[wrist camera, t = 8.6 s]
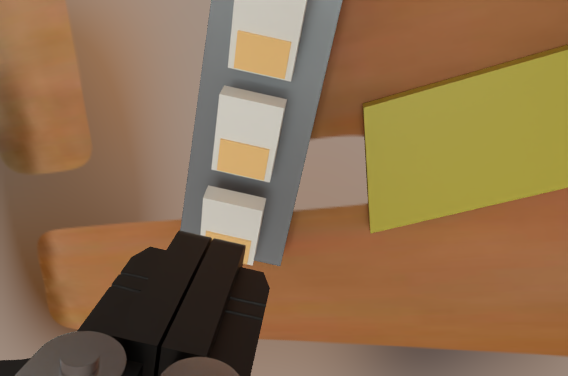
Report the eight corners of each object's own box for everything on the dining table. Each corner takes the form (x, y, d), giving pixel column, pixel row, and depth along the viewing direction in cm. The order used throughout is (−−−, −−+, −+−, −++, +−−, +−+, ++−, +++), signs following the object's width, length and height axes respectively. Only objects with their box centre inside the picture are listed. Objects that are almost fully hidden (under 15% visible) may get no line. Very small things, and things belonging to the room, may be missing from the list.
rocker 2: (224, 85, 39) (218, 95, 37) (286, 99, 39) (283, 109, 37) (215, 159, 43) (210, 170, 41) (272, 172, 43) (269, 183, 41)
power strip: (244, -162, 38) (230, -185, 33) (372, -134, 38) (378, -152, 33) (189, 224, 51) (173, 251, 46) (284, 245, 51) (278, 275, 46)
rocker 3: (208, 185, 42) (202, 199, 40) (266, 198, 42) (262, 212, 40) (203, 240, 46) (198, 255, 45) (256, 252, 46) (252, 267, 45)
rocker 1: (241, -32, 35) (235, -24, 34) (310, -17, 35) (307, -8, 34) (232, 58, 40) (227, 68, 38) (293, 72, 40) (290, 83, 38)
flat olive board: (618, 28, 41) (336, 109, 46) (632, 31, 39) (336, 115, 44) (628, 161, 45) (369, 223, 50) (641, 170, 43) (370, 233, 48)
